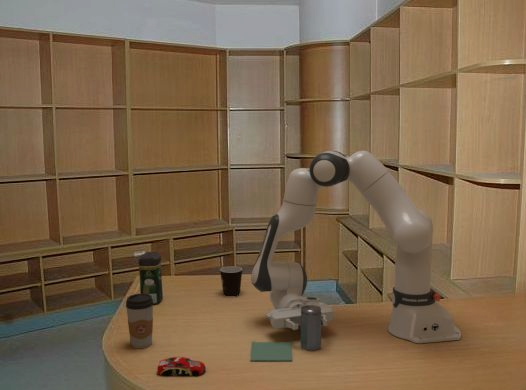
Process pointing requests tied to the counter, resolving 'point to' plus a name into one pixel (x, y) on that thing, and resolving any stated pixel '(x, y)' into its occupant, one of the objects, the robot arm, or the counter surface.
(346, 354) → the counter surface
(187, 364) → the race car
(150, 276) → the coffee jar
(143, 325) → the coffee cup
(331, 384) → the counter surface
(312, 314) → the canister
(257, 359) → the mat
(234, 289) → the coffee mug
